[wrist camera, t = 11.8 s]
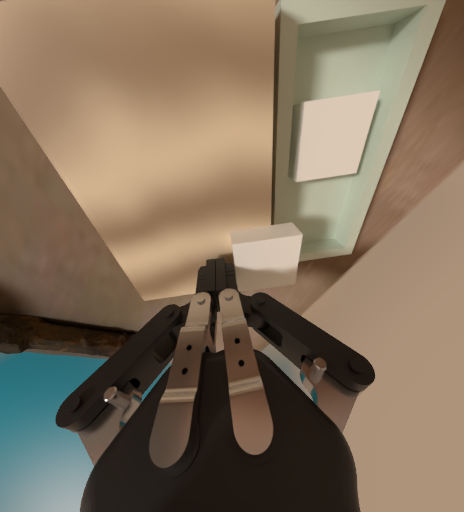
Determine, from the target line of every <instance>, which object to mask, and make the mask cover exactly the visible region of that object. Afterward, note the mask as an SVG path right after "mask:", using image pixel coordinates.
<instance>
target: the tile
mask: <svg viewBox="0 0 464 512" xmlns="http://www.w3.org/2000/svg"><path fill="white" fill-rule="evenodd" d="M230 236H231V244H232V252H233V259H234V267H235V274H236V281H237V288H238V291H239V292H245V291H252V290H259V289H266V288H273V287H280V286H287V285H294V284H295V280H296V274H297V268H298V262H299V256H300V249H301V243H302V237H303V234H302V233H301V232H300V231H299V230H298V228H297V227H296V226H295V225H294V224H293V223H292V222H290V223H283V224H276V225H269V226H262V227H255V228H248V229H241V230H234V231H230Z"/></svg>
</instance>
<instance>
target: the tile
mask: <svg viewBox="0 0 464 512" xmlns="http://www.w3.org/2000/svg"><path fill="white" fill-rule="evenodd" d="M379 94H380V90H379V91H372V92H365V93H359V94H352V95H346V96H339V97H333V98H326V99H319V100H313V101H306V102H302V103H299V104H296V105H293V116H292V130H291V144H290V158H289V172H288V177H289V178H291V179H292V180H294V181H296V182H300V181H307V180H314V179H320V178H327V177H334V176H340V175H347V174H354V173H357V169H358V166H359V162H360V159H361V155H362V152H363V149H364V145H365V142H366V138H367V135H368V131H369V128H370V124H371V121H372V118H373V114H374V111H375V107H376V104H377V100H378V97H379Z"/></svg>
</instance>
